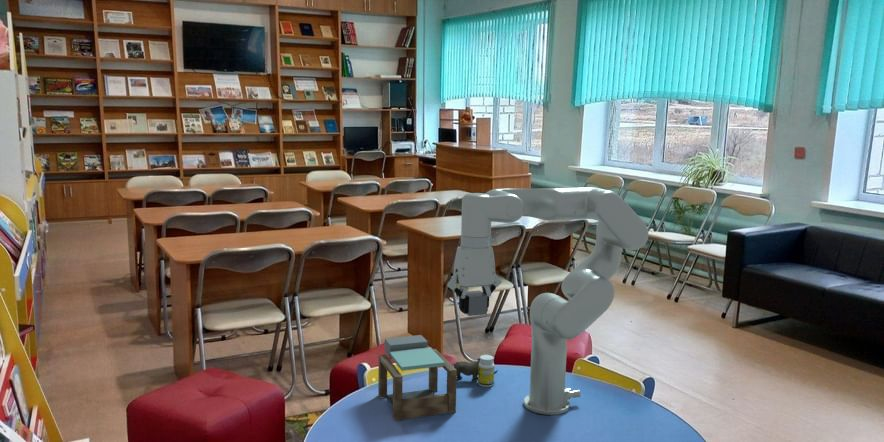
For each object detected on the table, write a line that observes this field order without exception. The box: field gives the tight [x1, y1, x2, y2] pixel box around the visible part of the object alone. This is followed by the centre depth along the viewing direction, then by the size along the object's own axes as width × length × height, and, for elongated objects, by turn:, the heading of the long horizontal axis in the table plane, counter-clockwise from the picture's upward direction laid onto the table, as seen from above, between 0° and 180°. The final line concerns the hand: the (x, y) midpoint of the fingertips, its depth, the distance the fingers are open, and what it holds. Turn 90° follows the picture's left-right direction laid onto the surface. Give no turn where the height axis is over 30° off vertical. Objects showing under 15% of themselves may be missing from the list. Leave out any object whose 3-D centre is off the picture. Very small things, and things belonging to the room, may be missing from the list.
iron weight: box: [466, 290, 488, 317], centre depth 177 cm, size 5×5×5 cm
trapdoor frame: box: [377, 348, 458, 422], centre depth 188 cm, size 17×17×12 cm
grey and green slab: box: [384, 334, 445, 372], centre depth 191 cm, size 12×19×4 cm, turn 20°
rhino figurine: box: [453, 360, 498, 383], centre depth 206 cm, size 4×14×6 cm, turn 92°
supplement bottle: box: [477, 354, 495, 388], centre depth 203 cm, size 5×5×8 cm
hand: (473, 310), depth 177 cm, fingers closed on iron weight, 5 cm apart
